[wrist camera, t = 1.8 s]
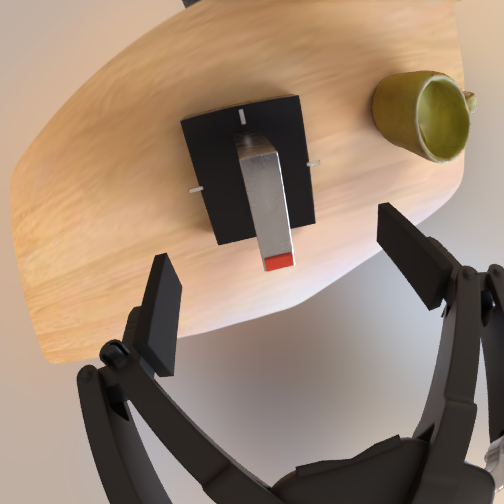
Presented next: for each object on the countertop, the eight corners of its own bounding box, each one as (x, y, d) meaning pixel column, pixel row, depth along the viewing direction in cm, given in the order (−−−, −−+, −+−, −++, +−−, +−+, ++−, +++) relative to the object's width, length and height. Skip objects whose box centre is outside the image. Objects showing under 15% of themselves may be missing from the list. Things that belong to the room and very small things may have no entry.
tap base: (172, 120, 24) (168, 124, 22) (302, 92, 24) (310, 94, 22) (209, 236, 32) (208, 248, 30) (318, 211, 32) (325, 222, 30)
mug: (376, 172, 27) (442, 172, 18) (346, 85, 24) (404, 55, 15) (438, 151, 29) (496, 150, 19) (415, 79, 26) (470, 63, 16)
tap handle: (232, 133, 23) (239, 160, 16) (258, 128, 23) (278, 151, 16) (252, 217, 29) (265, 273, 21) (274, 212, 28) (296, 266, 21)
